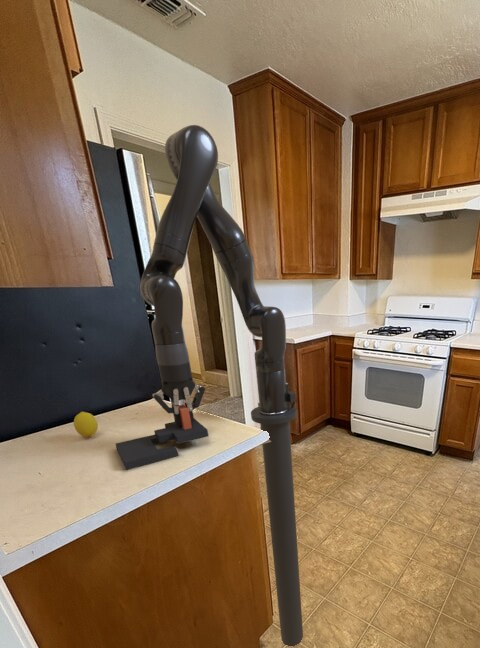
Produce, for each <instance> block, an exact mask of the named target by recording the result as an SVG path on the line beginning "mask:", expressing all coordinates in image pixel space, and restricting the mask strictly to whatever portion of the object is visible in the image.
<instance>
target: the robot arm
mask: <svg viewBox="0 0 480 648" xmlns="http://www.w3.org/2000/svg"><path fill="white" fill-rule="evenodd" d="M164 146H165V147H164V153H165V154H164V155H165V158H166V161H167V163H168V166H169V169H170V170H171V172H172V174H173V176H174V178H175V179H176V183H175V186H174V189H173V191H172V194H171V196H170V198H169V200H168V202H167V204H166V206H165V208H164V211H163V212H162V215H161V217H160V220H159V222H158V226H157V229H156V233H155V238H154V242H153V247H152V252H151V255H150V257H149V258H148V260H147V264H146V265H145V268H144V270H143V273H142V275H141V279H140V284H139V290H140V294H141V297H142V299H143V300H144V301H145V303H146V304H148V305H150V306H151V307H153V308H154V319H153V320H152V321H151V332H152V336H153V341H154V349H155V357H156V358H155V360H156V362H157V367H158V368H157V369H158V372H159V377H160V382H161V384H160V389H159V390H158V391H157V392H153V393H152V394H151V397H152V398H153V399H154V400H155V401H156V402H157V403H158V405H160V407H161V408H162V409H163V410H164V411H165V412H166V413H167V414H172V415H173V420H174V422H175V423H176V424H177V425H178V426H179V427H182V421H181V415H180V413H179V405H180V401H182V402H183V403H184V404H183V405H184V406H185V407H187V408H188V409H189V414H190V420H191V424H192V422H194V419H195V416H194V412H193V411H194V410H195V409H198V408H199V407H200V405H201V402H202V399H203V397H204V394H205V391H206V387H204V386H203V385H200V384H196V383H195V381H194V380H193V373H192V368H191V362H190V356H189V351H188V350H189V349H188V346H187V343H186V338H185V331H184V328H183V318H184V297H183V292H182V289H181V286H180V284H179V282H178V281H177V280H176V278H175V277H176V275H177V273H178V272H179V271H180V270H182V269H183V267H184V265H185V262H186V259H187V254H188V250H189V246H190V242H191V237H192V234H193V231H194V226H195V223H196V220H197V219H198V222H199V223H200V225H201V228H202V229H203V232H204V233H205V235H206V238H207V239H208V241H209V244H210V246H211V249H212V251H213V253H214V255H215V257H216V259H217V262H218V263H219V265H220V267H221V269H222V272H223V273H224V275H225V277H226V279H227V282H228V284H229V286H230V288H231V291H232V293H233V295H234V297H235V299H236V303H237V304H238V308H239V310H240V313H241V315H242V318H243V321H244V323H245V326H246V328H247V330H248V332H249V333H250V334H251V335H253V336H254V337H257V338H261V347H260V348H259V349H257V350H255V352H254V363H255V374H256V384H257V393H258V396H257V397H258V403H257V407H260V413H261V414H263V415H280V414H283V413H286V412H287V411H289V410H290V405H291V408H293V407H295V405H296V402H297V400H296V399H297V397H296V393H295V392H293V391H291V390H290V385H289V382H287V379H286V365H285V353H286V351H287V350H286V349H287V326H286V325H287V323H286V318H285V315H284V312H283V311H282V310H281V309H280V308H278V307H276V306H264V305H263V302H262V301H261V299H260V295H259V294H258V291H257V289H256V283H255V260H254V256H253V252H252V250H251V247H250V244H249V242H248V240H247V238H246V236H245V234H244V232H243V230H242V228H241V226H240V225H239V224H238V223H237V222H236V220H235V219H234V218H233V216H231V214H230V213H229V212H228V211H227V210H226V209H225V208H224V206H223V205H222V204H221V201H219V199H218V198H217V195H216V193H215V192H214V189H213V187H212V185H211V180H212V178H213V176H214V174H215V172H216V169H217V166H218V161H219V152H218V146H217V144H216V141H215V139H214V137H213V136H212V134H211V133H210V132H209V131H208V130H207V129H206V128H205V127H203V126H200V125H198V124H190V125H187V126H184V127H182V128H180V129H179V130H178V131H176V132H174V133H172V134H170V135H169V136H168V138H167V139H166V141H165V144H164ZM193 391H194V396H193V399H192V398H191V395H192V394H193ZM164 395H165V396H167V397H168V398H169V399H170V404H171V407H170V406H169V405H168V404H167V403H166V402H165V401H164V399H165V397H164Z"/></svg>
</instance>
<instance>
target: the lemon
mask: <svg viewBox="0 0 480 648" xmlns="http://www.w3.org/2000/svg"><path fill="white" fill-rule="evenodd" d="M73 427H74V429H75V431H76V433H77V434H78V435H80V436H82V437H86V438H87V439H88V438H89V439H90V438H92V437H93V435H95V434H96V433H97V431H98V430H99V429H98V428H99V426H98V421H97V419H96V417H95V416H94V415H93V414H92V413H89V412H86V411H80V412H79V413H78V414H76V416H74V419H73Z"/></svg>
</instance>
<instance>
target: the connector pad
mask: <svg viewBox="0 0 480 648" xmlns="http://www.w3.org/2000/svg"><path fill="white" fill-rule="evenodd" d="M179 413H180V415H181V421H182V427H179V426H178V425H177V424H176V423H175V421H171V422H167V423H164V428H159V429H154V430H153V433H154V435H155V437H156V438H157V440H158V441H159V442H160V443H162V444H164V443H163V442H166V443H167V442H171V441H175V442H176V444H177V445H180V444H184V443H188V442H192V441H196V440H200V439H203V438H208V437H209V430H208V428H206V427H205V426H204V425H203V424H201V423H200V422H199V420H197V419H196V418H194V422H192V424H191V420H190V414H189V409H188V408H187V407H185V404H179Z"/></svg>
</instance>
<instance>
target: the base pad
mask: <svg viewBox="0 0 480 648" xmlns="http://www.w3.org/2000/svg"><path fill="white" fill-rule="evenodd" d="M166 443H167V442H163V443H160V442H159V441H158V440H157V438H156V437H155V434H151V435H147V436H142V437H138V438H134V439H133V438H132V439H128V440H125V441H121V442H116V443H115V449H116V451H117V454H118V456H119V458H120V460H121V462H122V464H123V467H124V468H125V470H126V471H128V470H132V469H135V468H139V467H143V466H147V465H151V464H154V463H159V462H161V461H165V460H168V459H173V458H177V457H179V453H178V448H177V447H176V446H175V445H174V444H173V445H170V446H165V447H161V448H157V445H160V444H166Z"/></svg>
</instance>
